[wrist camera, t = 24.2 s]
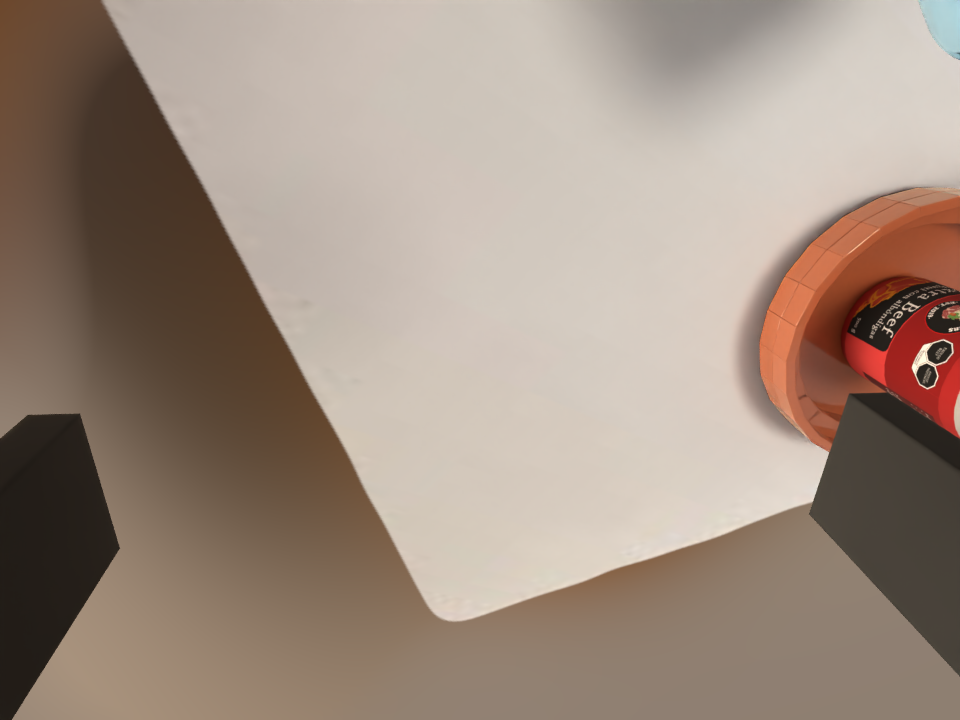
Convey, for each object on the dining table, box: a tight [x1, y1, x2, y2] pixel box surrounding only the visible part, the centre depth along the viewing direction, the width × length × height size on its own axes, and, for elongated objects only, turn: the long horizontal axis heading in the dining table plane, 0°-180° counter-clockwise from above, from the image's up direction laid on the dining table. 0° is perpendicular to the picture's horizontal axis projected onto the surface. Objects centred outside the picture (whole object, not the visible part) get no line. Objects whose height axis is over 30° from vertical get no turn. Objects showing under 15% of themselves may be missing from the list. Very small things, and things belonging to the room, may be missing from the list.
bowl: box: [759, 188, 960, 452], centre depth 42 cm, size 19×19×4 cm
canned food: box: [841, 277, 960, 439], centre depth 38 cm, size 8×8×11 cm
